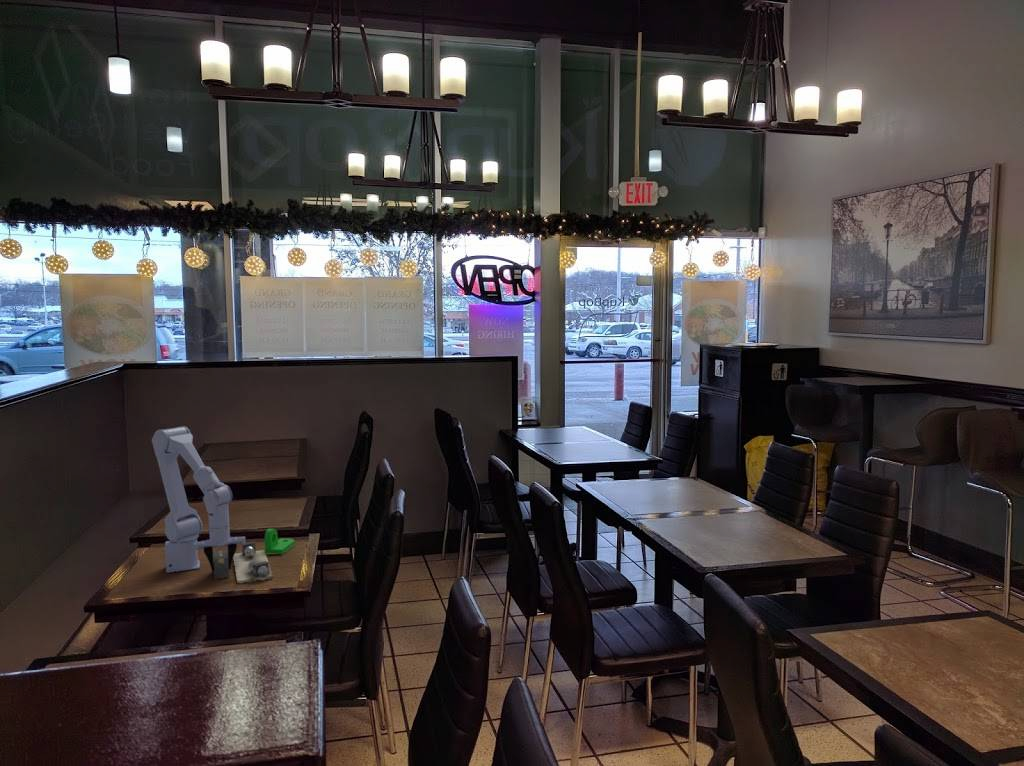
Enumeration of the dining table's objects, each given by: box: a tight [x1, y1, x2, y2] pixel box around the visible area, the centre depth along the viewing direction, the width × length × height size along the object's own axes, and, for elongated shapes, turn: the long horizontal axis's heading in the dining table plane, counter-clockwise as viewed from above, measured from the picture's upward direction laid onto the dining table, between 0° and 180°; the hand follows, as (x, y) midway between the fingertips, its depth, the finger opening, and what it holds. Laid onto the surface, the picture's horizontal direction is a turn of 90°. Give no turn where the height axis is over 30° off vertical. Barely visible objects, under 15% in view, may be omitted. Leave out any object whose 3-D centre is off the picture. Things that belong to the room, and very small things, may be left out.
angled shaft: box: [248, 561, 270, 577], centre depth 224 cm, size 8×4×4 cm, turn 43°
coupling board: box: [232, 549, 274, 584], centre depth 233 cm, size 10×28×1 cm, turn 23°
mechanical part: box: [264, 528, 295, 555], centre depth 251 cm, size 12×6×8 cm, turn 173°
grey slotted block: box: [213, 550, 230, 580], centre depth 226 cm, size 4×9×6 cm, turn 23°
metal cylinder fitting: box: [241, 541, 257, 559], centre depth 242 cm, size 8×4×4 cm, turn 23°
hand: (221, 569), depth 226 cm, fingers closed on grey slotted block, 4 cm apart
